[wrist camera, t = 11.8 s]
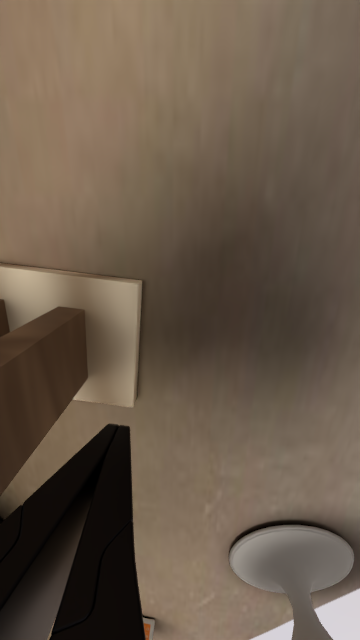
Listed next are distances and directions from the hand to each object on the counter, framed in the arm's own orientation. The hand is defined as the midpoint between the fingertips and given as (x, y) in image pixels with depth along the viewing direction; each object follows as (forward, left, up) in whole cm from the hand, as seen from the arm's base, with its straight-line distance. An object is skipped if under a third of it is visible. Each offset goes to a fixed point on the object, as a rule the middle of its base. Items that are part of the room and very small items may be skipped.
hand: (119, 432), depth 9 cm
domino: (+3, +4, -6) cm, 8 cm away
